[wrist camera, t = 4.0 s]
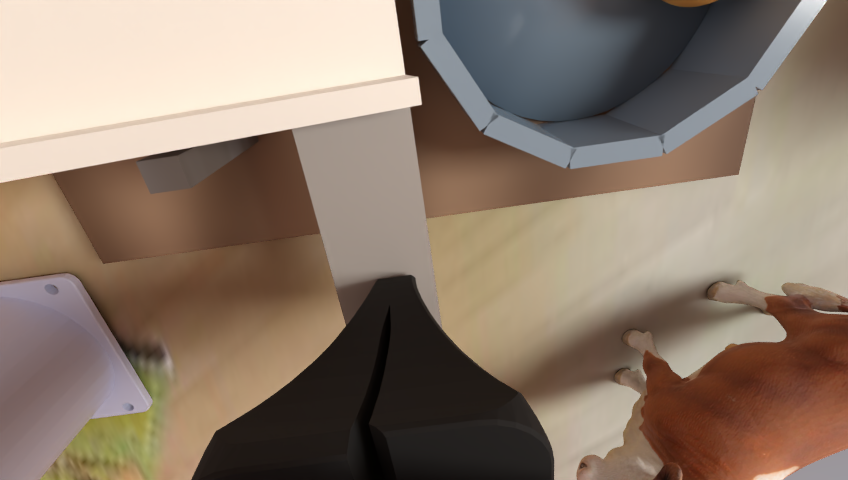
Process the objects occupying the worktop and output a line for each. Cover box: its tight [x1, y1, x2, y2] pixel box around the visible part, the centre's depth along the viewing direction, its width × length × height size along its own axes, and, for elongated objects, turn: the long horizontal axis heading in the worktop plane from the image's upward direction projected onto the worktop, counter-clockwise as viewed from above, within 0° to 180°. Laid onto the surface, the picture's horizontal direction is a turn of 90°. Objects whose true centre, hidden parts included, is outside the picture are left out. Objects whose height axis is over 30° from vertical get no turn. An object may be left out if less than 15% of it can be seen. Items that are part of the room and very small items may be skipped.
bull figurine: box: [577, 280, 848, 480], centre depth 17 cm, size 4×13×8 cm, turn 120°
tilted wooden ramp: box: [0, 0, 442, 328], centre depth 10 cm, size 12×13×3 cm
